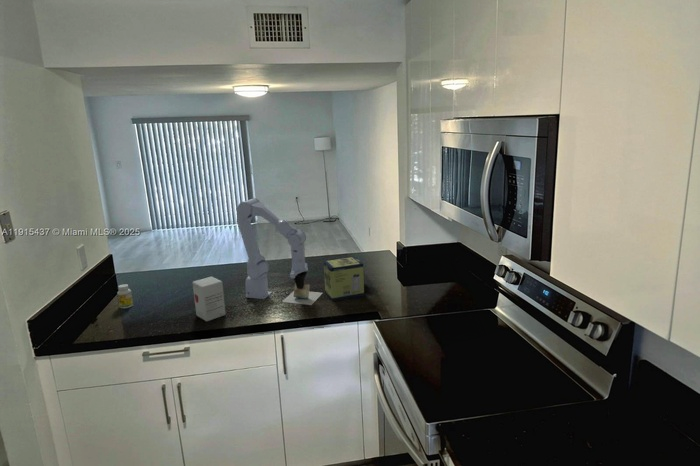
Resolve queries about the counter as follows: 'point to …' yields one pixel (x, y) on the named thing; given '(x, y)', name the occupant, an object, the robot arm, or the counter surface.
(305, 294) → the maple block
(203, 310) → the supplement box
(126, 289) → the supplement bottle
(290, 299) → the grey rubber mat
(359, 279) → the protein box
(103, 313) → the counter surface
